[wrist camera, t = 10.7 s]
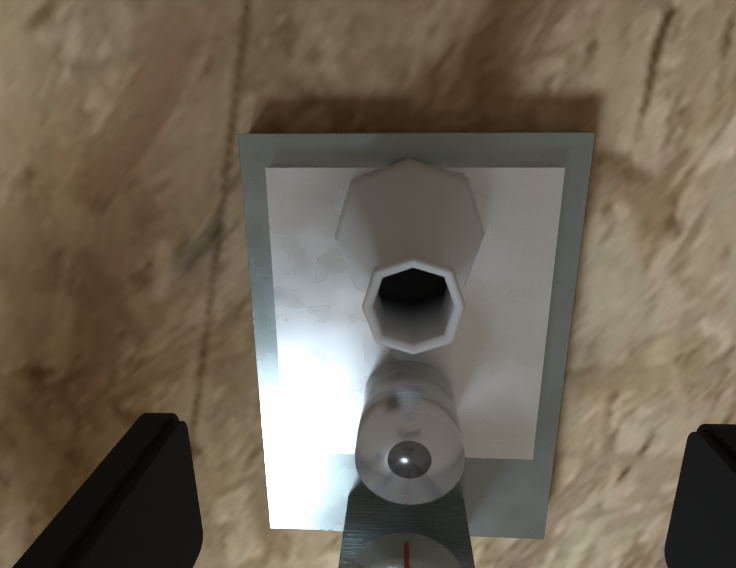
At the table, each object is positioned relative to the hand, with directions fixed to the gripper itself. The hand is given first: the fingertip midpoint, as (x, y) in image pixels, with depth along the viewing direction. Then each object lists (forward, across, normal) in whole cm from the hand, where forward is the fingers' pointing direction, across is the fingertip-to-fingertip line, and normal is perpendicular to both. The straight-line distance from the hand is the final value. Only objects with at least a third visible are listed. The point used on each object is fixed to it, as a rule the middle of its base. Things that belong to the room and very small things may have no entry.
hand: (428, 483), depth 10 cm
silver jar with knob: (+17, 0, +8) cm, 19 cm away
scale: (+20, 0, +6) cm, 21 cm away
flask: (+17, 0, -1) cm, 17 cm away
